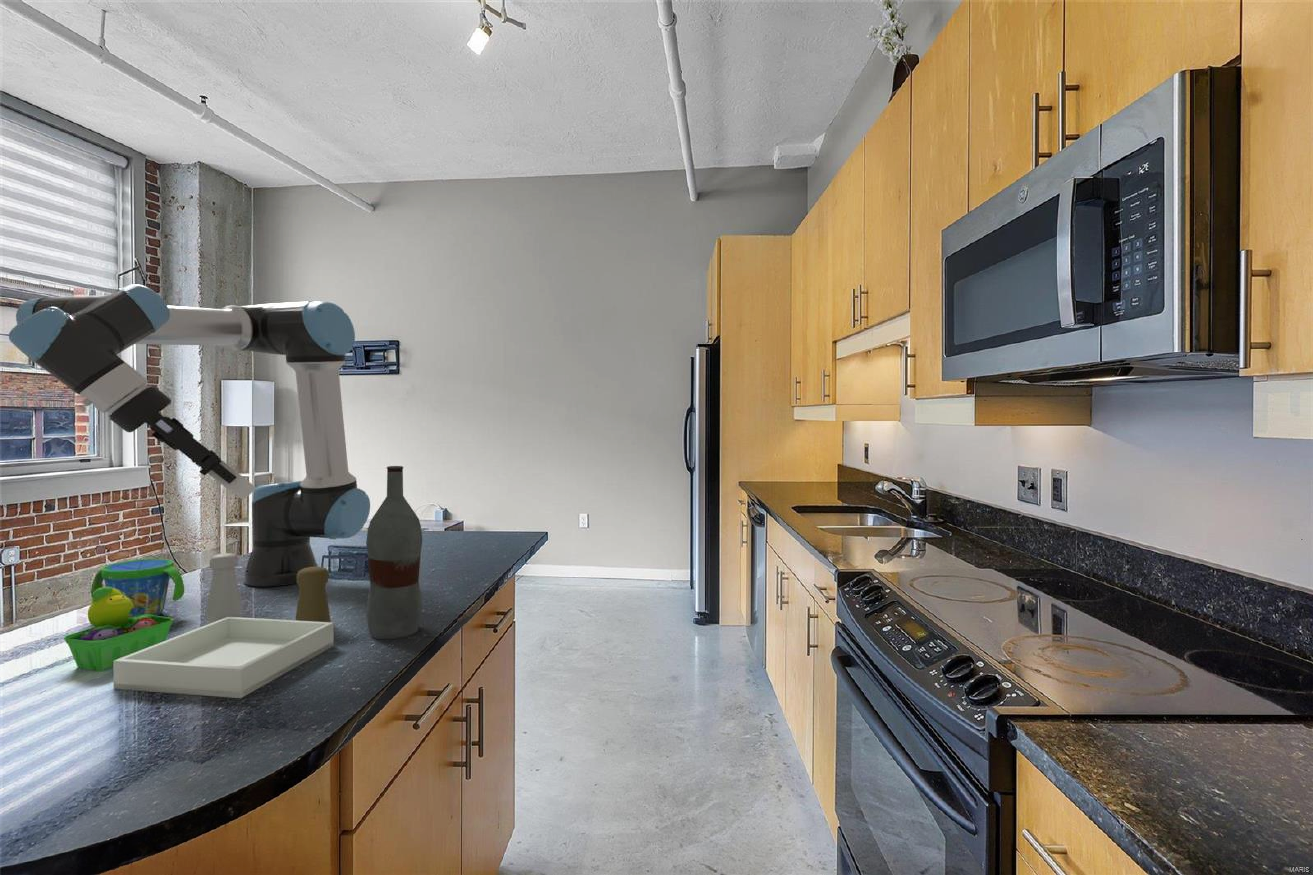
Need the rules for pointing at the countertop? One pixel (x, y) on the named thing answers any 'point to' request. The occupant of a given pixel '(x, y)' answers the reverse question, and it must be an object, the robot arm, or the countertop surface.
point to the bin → (224, 657)
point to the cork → (313, 595)
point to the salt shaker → (223, 589)
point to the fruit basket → (114, 631)
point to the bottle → (394, 564)
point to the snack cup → (142, 583)
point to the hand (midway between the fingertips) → (244, 490)
